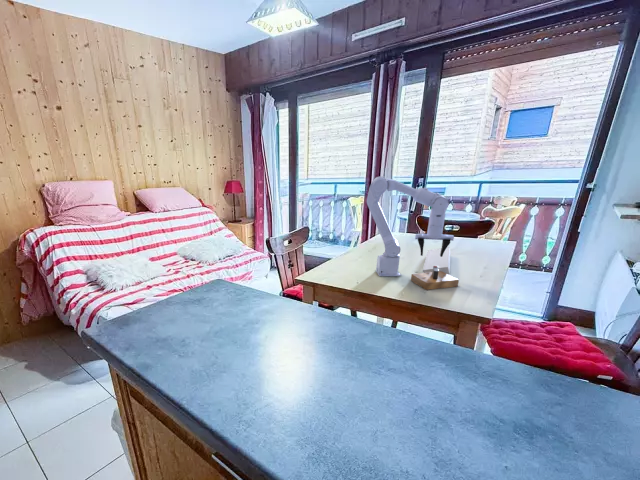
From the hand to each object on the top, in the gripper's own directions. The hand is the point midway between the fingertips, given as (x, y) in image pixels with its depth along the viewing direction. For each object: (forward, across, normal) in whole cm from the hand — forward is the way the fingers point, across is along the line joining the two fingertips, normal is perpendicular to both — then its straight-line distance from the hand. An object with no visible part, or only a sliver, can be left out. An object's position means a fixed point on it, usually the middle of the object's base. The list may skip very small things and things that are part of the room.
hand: (431, 255), depth 143 cm
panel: (+9, -2, +9) cm, 13 cm away
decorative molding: (+10, -5, -17) cm, 20 cm away
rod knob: (+6, -1, +9) cm, 11 cm away
